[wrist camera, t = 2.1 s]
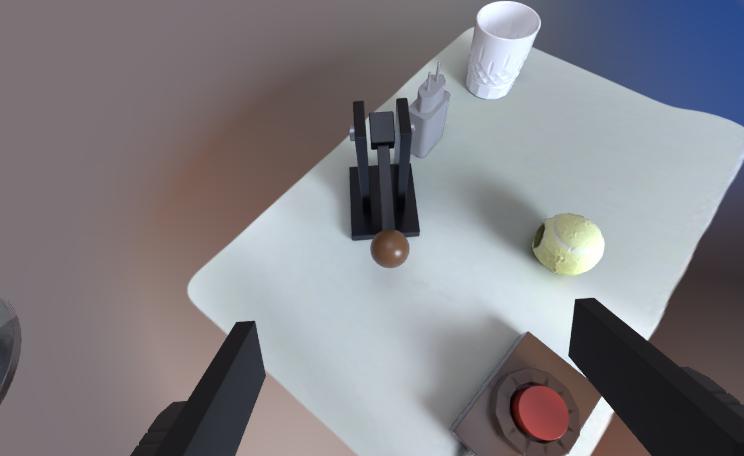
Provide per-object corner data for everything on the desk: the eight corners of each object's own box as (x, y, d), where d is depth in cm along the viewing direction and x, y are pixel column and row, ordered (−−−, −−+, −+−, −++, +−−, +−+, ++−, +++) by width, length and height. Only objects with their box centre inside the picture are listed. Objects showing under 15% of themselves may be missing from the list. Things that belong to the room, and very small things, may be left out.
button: (543, 450, 29) (552, 452, 28) (502, 412, 31) (509, 412, 29) (569, 411, 31) (578, 411, 29) (528, 376, 32) (535, 374, 30)
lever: (408, 265, 35) (412, 268, 31) (371, 267, 35) (371, 271, 31) (398, 121, 35) (401, 108, 31) (362, 124, 35) (361, 110, 31)
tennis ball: (590, 246, 41) (625, 218, 35) (575, 295, 39) (609, 275, 33) (536, 223, 43) (560, 193, 37) (517, 268, 40) (541, 244, 34)
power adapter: (444, 134, 49) (460, 59, 39) (422, 159, 48) (433, 88, 37) (425, 124, 50) (436, 48, 40) (403, 149, 48) (408, 76, 38)
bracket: (419, 236, 42) (434, 159, 29) (352, 240, 43) (337, 165, 29) (410, 168, 47) (419, 75, 34) (350, 172, 47) (336, 80, 34)
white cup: (498, 111, 51) (522, 48, 42) (451, 88, 53) (464, 24, 45) (524, 80, 54) (552, 14, 45) (478, 59, 56) (496, -7, 47)
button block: (522, 504, 31) (540, 516, 27) (448, 430, 33) (456, 433, 30) (592, 393, 34) (616, 391, 31) (520, 334, 37) (535, 327, 33)
